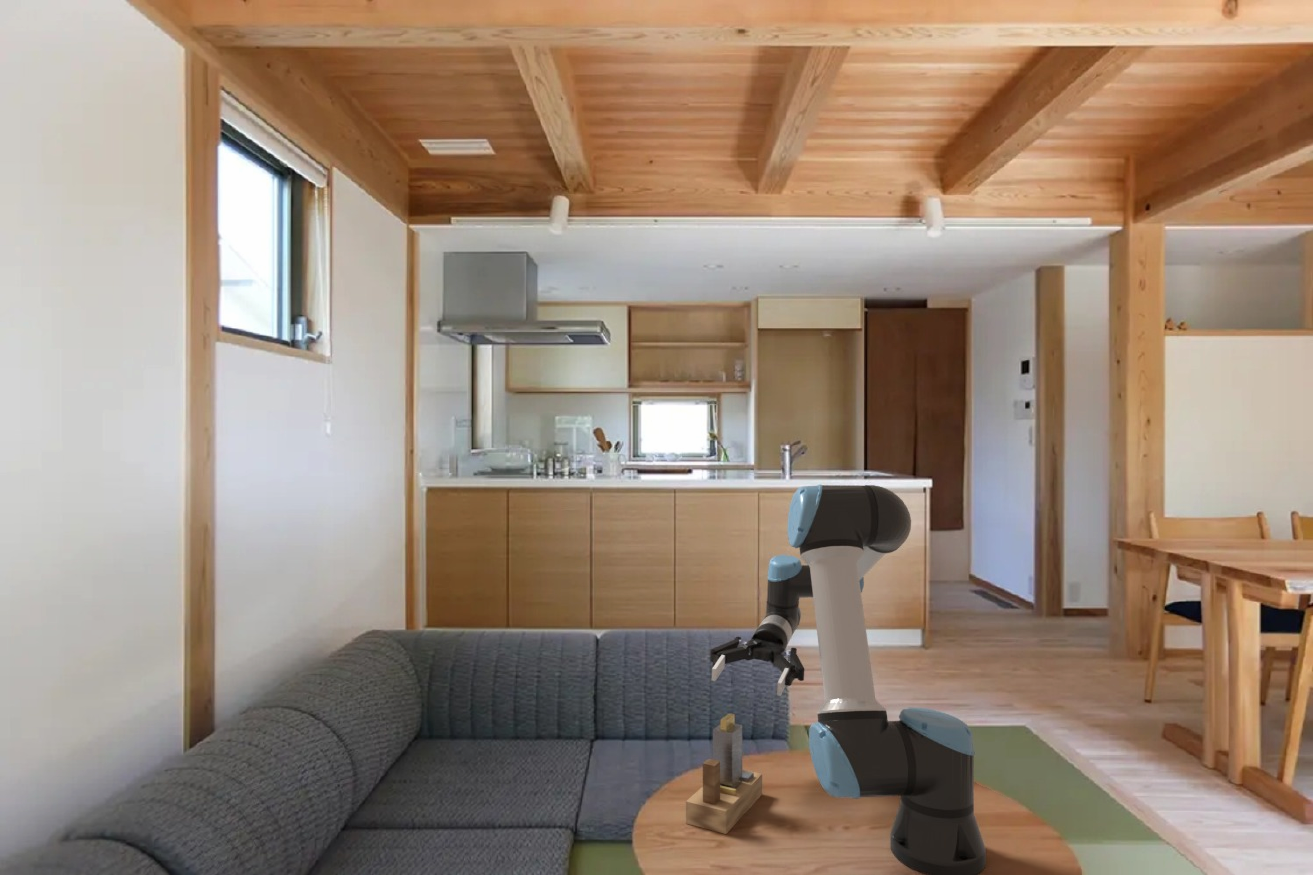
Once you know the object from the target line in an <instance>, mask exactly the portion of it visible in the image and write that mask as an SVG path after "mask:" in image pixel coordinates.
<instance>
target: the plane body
mask: <svg viewBox="0 0 1313 875" xmlns="http://www.w3.org/2000/svg"><path fill="white" fill-rule="evenodd" d="M762 795H763V773H760V772H756V771H751V770H745V769H742V783H741V784H740V785H739V786H738V787H737V788H736V789H734V788H730V787H725V786H721V785H720V761H716V760H713V758H707V759H706V760H705V761H704V762H702V786H701V787H700V788H699V789H698V790H697V791H696V792H695V793H693V795H691V796H690V797H689V798H688V799H687V800H686V801H685V824H686V825H690V826H694V827H699V828H702V829H706V830H710V831H713V832H716V833H720V834H724V835H727V834H728V833H729V831H730V830H731V829H733V827H734V826H735V825H736V824H737V823H738V822H739V820H741V819H742V817H744V815H745V814H746V813H747V812H748V811H749V810H750V808H752V806H753V805H754V804H755V803H756V802H757V801H758V800H759V799H760V798H761V796H762Z"/></svg>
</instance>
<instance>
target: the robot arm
mask: <svg viewBox="0 0 1313 875" xmlns="http://www.w3.org/2000/svg"><path fill="white" fill-rule="evenodd" d="M911 528H912V518H911V513H910V511H909V508H908V507H907V505H906V504H905V502H904V500H903V499H901V497H900V496H898V495H897V494H896V493H895V492H894V491H891V490H890V489H888V488H886V487H883V486H879V485H875V484H869V485H868V484H864V485H853V484H852V485H850V484H849V485H845V484H843V485H841V484H840V485H836V484H835V485H834V484H832V485H831V484H830V485H828V484H823V485H822V484H817V485H804V486H801V487H799V488H797V490H795V492H794V494H793V496H792V498H791V501H790V506H789V510H788V518H787V540H788V542H789V545H790V546H791V547H792V548H794V549H799V556H800V558H799V557H796V556H794V555H787V554H780V555H779V554H778V555H775V556H772V558H771V559H770V560H769V562H768V571H767V575H766V578H767V588H766V589H767V593H766V594H767V595H766V605H765V608H766V609H765V616H764V618H763V620H761V622H760V624H759V625H758V627H757V629H756V630H755V631H754V633H753V635H752V637H751V639H749V640H748V641H745V640H742V637H741V636H736V637H735V638H734V639H732V640H730V641H727V642H726V643H723V644H720V645H718V646H716V647H714V648H711V649H710V651H709V661H710V663H711V662H712V668H711V681H712V682H716V681H717V679H718V678H719V676H720V675H721V673H722V672H723V671H724V668H726V667H725V666H726V665H727V664H731V663H735V662H739V661H744V660H745V661H746V662H747V661H748V662H749V661H752V660H757V661H763V662H769V663H770V664H771V665H773V667H776V668H777V669H778V670H779V671H780V672H781V675H780V677H779V679H778V681H777V687H776V688H777V689H776V690H777V691H776V692H777V693H776V695H777V696H778V697H779V696H780V697H781V696H782V694H783V692H784V690H785V688H786V687H787V686H788V687H790V686H791V685H792V684H793V682H794V681H795V679H797V680H798V681H800V682H803V681H805V667H804V666H803V664H802V661H801V659H800V658H799V656H798V653H797V651H798V650H797V648H796V647H791V648H790V649H789V650H787V646H788V644H789V643H790V641H791V639H792V637H793V635H794V633H795V631H796V630H797V628H798V626H800V622H801V619H802V612H801V609H800V607H799V605H800V599H801V598H807V599H808V598H813V605H814V606H813V609H814V615H815V616H814V617H815V625H816V633H817V634H816V635H817V643H818V652H819V660H820V661H819V662H820V669H821V678H822V687H823V689H822V690H823V695H824V696H823V697H824V702H823V705H822V706H821V707H820V708H819V709H818V710H817V721H815V722H814V723H812V724H811V725H810V727H809V728H808V737H809V739H808V746H809V751H810V758H811V762H812V765H813V769H814V772H815V774H816V777H817V779H818V781H819V783H820V785H821V787H822V788H823V790H824V791H825V792H826V793H827V794H828V795H829V796H831V797H834V798H852V799H860V798H877V797H879V798H880V797H897V796H898V797H899V796H900V803H899V807H898V808H897V812H896V816H895V818H894V821H893V824H892V827H891V830H890V834H889V836H890V840H889V842H890V850H891V853H892V854H893V855H894V857H895V858H896V859H897V860H899V862H901V863H902V864H904V865H906V866H907V867H909V868H911V869H913V870H915V871H918V872H920V873H923V874H927V875H977V874H979V873H981V872H982V871H983V870H984V869H985V867H986V864H987V862H986V861H987V857H986V856H987V855H986V853H987V852H986V851H987V850H986V846H985V842H984V840H983V837H982V833H981V831H980V827H979V824H978V822H977V819H976V816H975V806H974V805H975V802H974V801H975V800H974V798H975V797H974V796H975V792H974V790H975V788H974V787H975V786H974V785H975V783H974V782H975V780H974V778H975V776H974V774H975V772H974V770H975V769H974V765H975V764H974V762H975V761H974V759H975V758H974V756H975V749H974V738H973V733H972V732H973V731H972V730H971V728H970V726H969V725H968V724H967V723H966V722H964V721H963V720H961V719H960V718H958V717H955V716H953V715H950V714H948V713H945V712H941V711H939V710H938V711H937V710H934V709H929V708H923V707H906V708H903V709H902V710H901V711H900V713H899V715H898V718H899V720H892V721H891V720H888V714H887V709H886V707H884V706H883V705H882V704H881V703H880V702H878V700H877V698H876V693H875V687H874V685H875V684H874V677H873V671H872V663H871V656H870V648H869V642H868V641H869V640H868V634H867V627H866V626H867V625H866V619H865V612H864V605H863V598H862V593H863V589H864V585H865V580H864V579H865V578H864V577H865V576H866V575H867V574H868V572H869V571H871V569H872V568H873V567H874V566H875V565H876V564H877V563H878V562H879V561H880V560H881V559H882V558H883V557H884V556H885V555H886V554H891V553H893V552H896V551H897V550H898V549H899V548H901V546H903V544H904V543H906V541H907V539H908V538H909V535H910V533H911ZM802 561H803V562H804V563H805V565H804V564H802ZM786 658H787V659H786Z"/></svg>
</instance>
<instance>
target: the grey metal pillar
mask: <svg viewBox="0 0 1313 875" xmlns="http://www.w3.org/2000/svg"><path fill="white" fill-rule="evenodd" d="M735 718H736V717H735V713H727V714H726V715H725V716H724V717H722V718H721V719H720V723H719V724H718V725H717V726H716V727H715V728H713V729H712V760H716V761H720V785H721V786H725V787H730V788H734V789H736V788H737V787H738V786H739V785H740V784H741V783H742V770H743V724H738V723H736V722H735Z"/></svg>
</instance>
